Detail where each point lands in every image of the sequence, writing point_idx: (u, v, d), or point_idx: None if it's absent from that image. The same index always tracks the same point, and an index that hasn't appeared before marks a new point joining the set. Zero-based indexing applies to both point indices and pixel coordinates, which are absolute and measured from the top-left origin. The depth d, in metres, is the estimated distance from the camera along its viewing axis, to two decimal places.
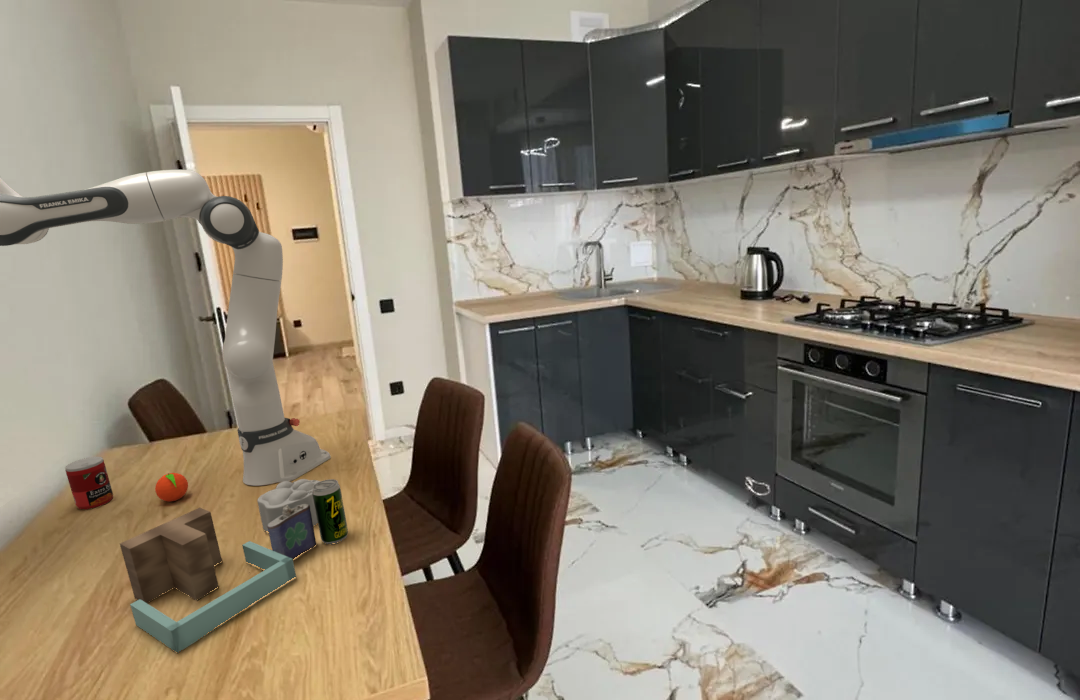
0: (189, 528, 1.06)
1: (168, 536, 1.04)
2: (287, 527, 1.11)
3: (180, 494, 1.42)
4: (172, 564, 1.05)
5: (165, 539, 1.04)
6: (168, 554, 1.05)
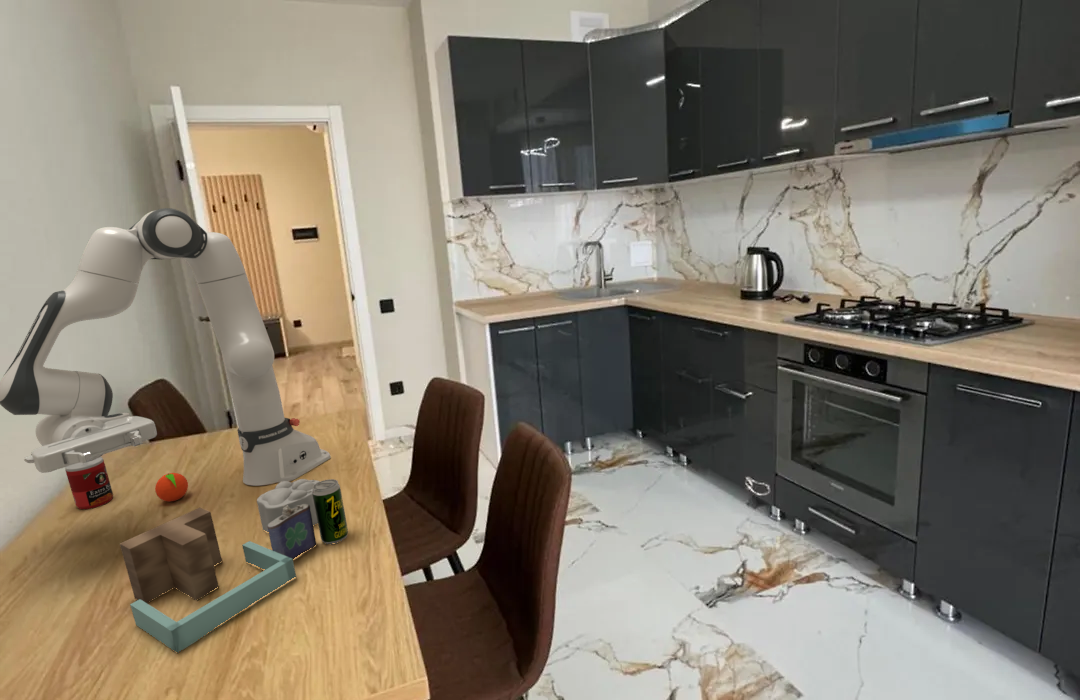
0: (189, 528, 1.06)
1: (168, 536, 1.04)
2: (287, 527, 1.11)
3: (180, 493, 1.42)
4: (172, 564, 1.05)
5: (165, 539, 1.04)
6: (168, 554, 1.05)
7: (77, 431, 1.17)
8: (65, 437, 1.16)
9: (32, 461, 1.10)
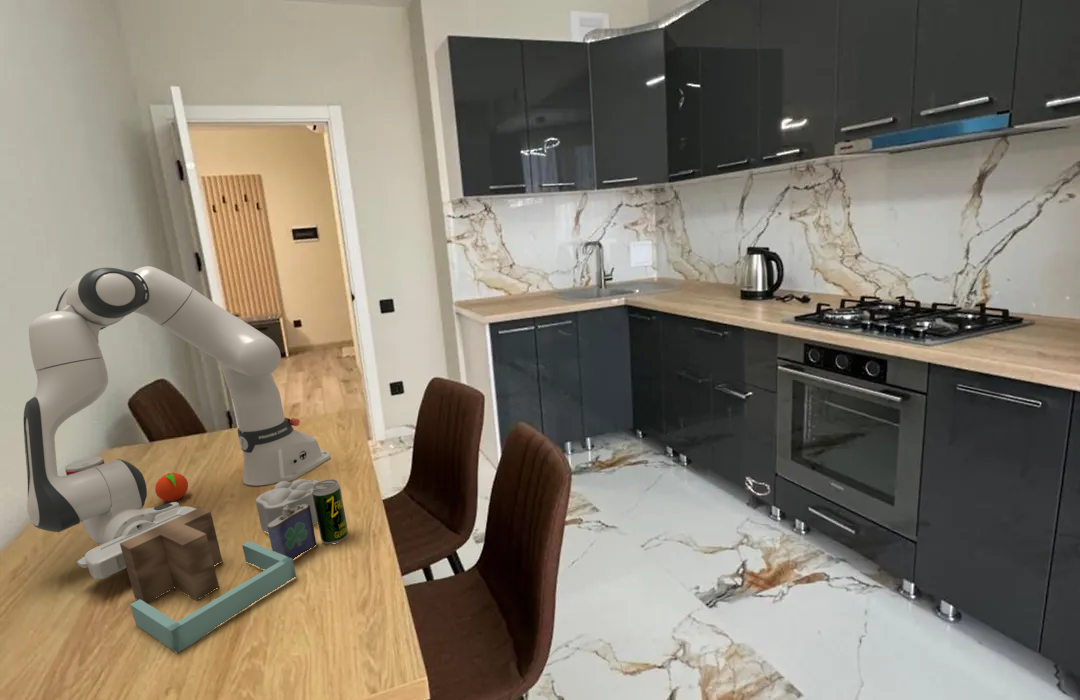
0: (189, 528, 1.06)
1: (168, 536, 1.03)
2: (287, 527, 1.11)
3: (180, 494, 1.42)
4: (172, 564, 1.05)
5: (165, 539, 1.04)
6: (168, 554, 1.05)
7: (129, 528, 1.14)
8: (117, 535, 1.13)
9: (86, 566, 1.07)
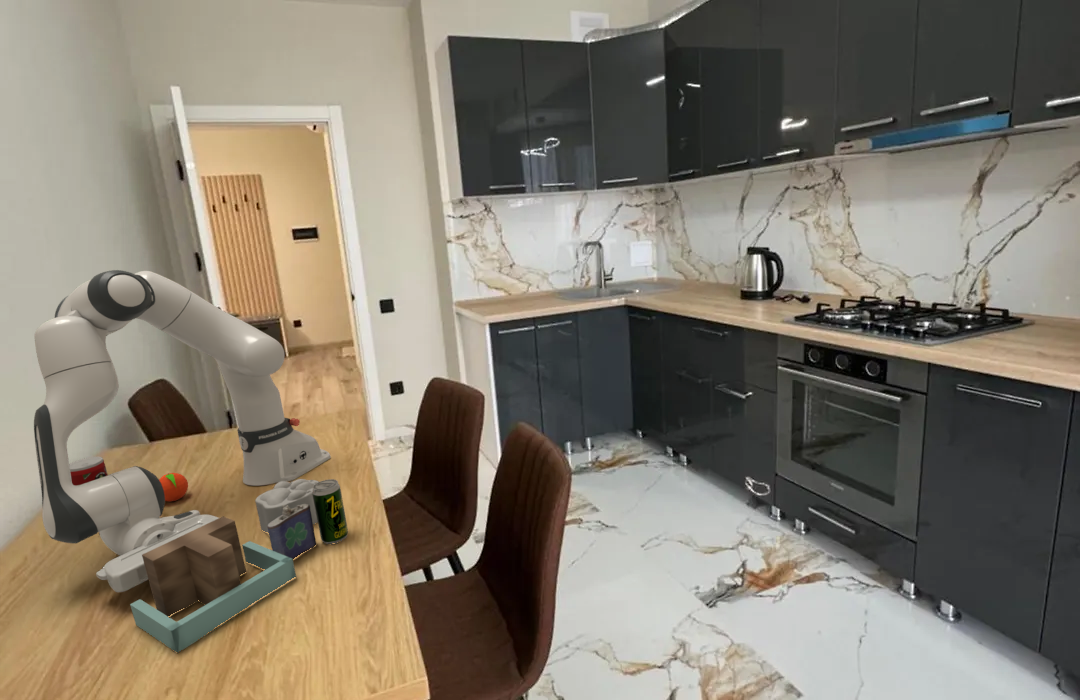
0: (214, 538, 1.01)
1: (192, 547, 0.99)
2: (287, 527, 1.11)
3: (180, 494, 1.42)
4: (196, 576, 1.00)
5: (189, 550, 0.99)
6: (192, 566, 1.00)
7: (149, 538, 1.09)
8: (136, 545, 1.08)
9: (105, 578, 1.02)
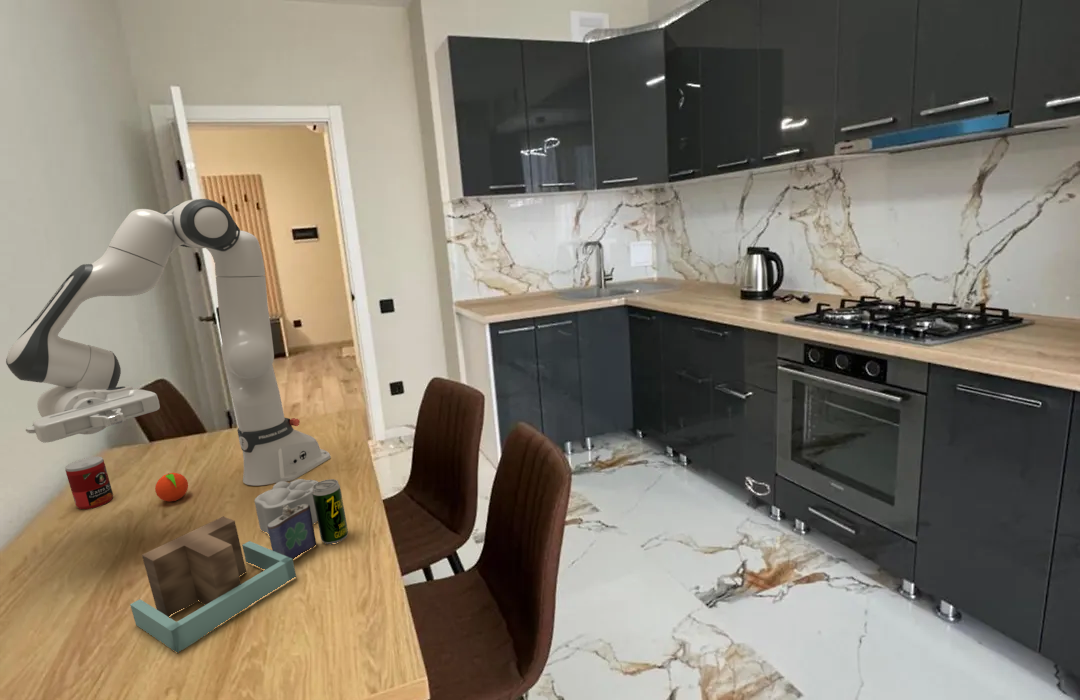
0: (214, 538, 1.01)
1: (192, 547, 0.99)
2: (287, 527, 1.11)
3: (180, 493, 1.42)
4: (196, 576, 1.00)
5: (189, 550, 0.99)
6: (192, 566, 1.00)
7: (79, 402, 1.15)
8: (67, 408, 1.14)
9: (33, 431, 1.08)
